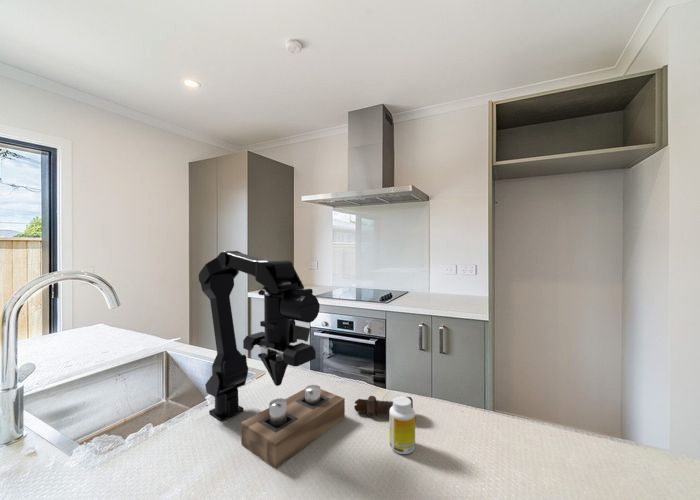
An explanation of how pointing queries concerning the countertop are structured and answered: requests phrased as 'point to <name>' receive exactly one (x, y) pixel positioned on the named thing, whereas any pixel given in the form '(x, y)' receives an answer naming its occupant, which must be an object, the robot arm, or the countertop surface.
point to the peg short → (312, 395)
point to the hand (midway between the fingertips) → (278, 385)
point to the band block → (291, 427)
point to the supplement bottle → (402, 425)
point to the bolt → (374, 406)
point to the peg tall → (278, 412)
